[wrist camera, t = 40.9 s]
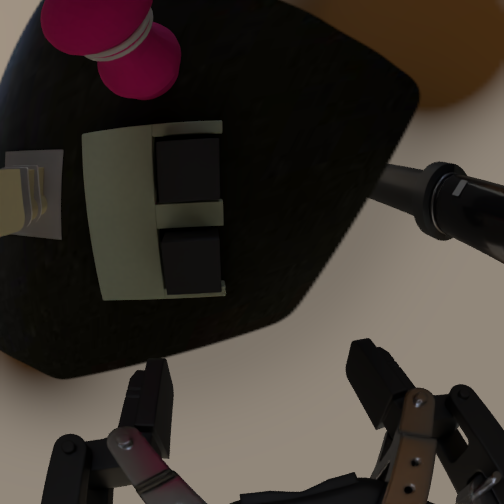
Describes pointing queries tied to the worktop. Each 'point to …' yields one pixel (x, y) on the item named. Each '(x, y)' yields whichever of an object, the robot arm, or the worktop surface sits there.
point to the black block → (191, 261)
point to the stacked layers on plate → (31, 194)
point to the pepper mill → (116, 43)
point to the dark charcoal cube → (188, 170)
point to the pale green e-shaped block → (136, 209)
